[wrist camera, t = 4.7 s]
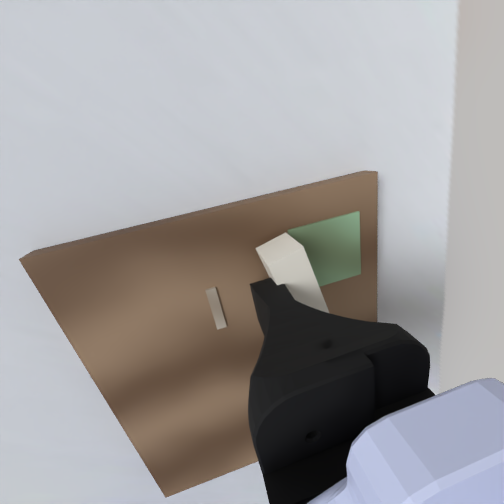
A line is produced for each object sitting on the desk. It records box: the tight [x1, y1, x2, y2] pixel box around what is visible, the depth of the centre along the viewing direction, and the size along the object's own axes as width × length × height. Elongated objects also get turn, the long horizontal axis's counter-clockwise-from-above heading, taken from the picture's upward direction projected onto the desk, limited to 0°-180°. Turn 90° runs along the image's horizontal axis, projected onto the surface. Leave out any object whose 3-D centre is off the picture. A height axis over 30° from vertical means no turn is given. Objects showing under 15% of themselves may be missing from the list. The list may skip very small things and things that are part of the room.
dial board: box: [19, 171, 378, 497], centre depth 15 cm, size 18×16×1 cm
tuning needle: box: [255, 233, 329, 313], centre depth 13 cm, size 14×3×3 cm, turn 25°
